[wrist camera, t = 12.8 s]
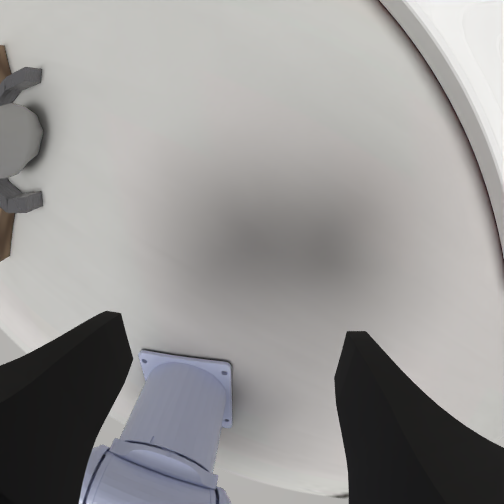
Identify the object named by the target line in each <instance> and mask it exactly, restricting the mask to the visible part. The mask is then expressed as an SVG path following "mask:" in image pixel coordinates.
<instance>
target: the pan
mask: <svg viewBox="0 0 504 504" xmlns="http://www.w3.org/2000/svg"><path fill="white" fill-rule="evenodd" d="M379 1H380V2H381V3H382V4H383V5H384V6H385V7H386V9H387V10H388V11H389V12H390V13H391V14H392V16H393V17H394V18H395V19H396V20H397V22H398V23H399V24H400V25H401V27H402V28H403V29H404V31H405V32H406V33H407V35H408V36H409V37H410V39H411V40H412V41H413V43H414V44H415V45H416V47H417V48H418V50H419V51H420V53H421V54H422V56H423V57H424V59H425V60H426V62H427V63H428V65H429V66H430V68H431V69H432V71H433V73H434V74H435V76H436V77H437V79H438V81H439V82H440V84H441V86H442V88H443V89H444V91H445V93H446V95H447V96H448V98H449V100H450V102H451V104H452V106H453V108H454V110H455V112H456V114H457V116H458V118H459V120H460V122H461V124H462V126H463V128H464V130H465V132H466V135H467V137H468V139H469V141H470V144H471V146H472V149H473V151H474V154H475V156H476V159H477V161H478V164H479V167H480V170H481V172H482V175H483V178H484V181H485V184H486V187H487V191H488V194H489V197H490V201H491V204H492V208H493V211H494V215H495V219H496V223H497V227H498V232H499V236H500V241H501V246H502V251H503V257H504V0H379Z"/></svg>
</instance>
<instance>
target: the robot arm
mask: <svg viewBox="0 0 504 504" xmlns="http://www.w3.org/2000/svg"><path fill="white" fill-rule="evenodd" d="M138 356H139V360H140V363H141V367H142V370H143V374H144V377H145V381H146V383H145V385H144V387H143V389H142V391H141V394H140V396H139V398H138V400H137V402H136V404H135V406H134V408H133V410H132V413H131V415H130V417H129V419H128V421H127V423H126V425H125V428H124V430H123V432H122V434H121V436H120V439H117V438H115V439H114V441H113V443H112V445H111V447H110V448H109V447H107V446H105V445H100V446H98V447H94V448H93V445H94V442H95V440H96V437H97V435H98V433H99V431H100V429H101V427H102V425H103V423H104V421H105V419H106V417H107V415H108V413H109V412H110V410H111V408H112V406H113V404H114V402H115V400H116V398H117V396H118V394H119V393H120V391H121V389H122V387H123V385H124V383H125V380H126V378H127V375H128V372H129V369H130V367H131V364H132V361H133V356H132V353H131V350H130V346H129V343H128V339H127V335H126V331H125V328H124V324H123V320H122V315H121V313H116V312H110V311H105V312H103V313H100V314H98V315H96V316H95V317H93V318H91V319H89V320H87V321H86V322H84V323H82V324H80V325H79V326H77V327H75V328H74V329H72V330H70V331H68V332H67V333H65V334H63V335H62V336H60V337H58V338H56V339H55V340H53V341H51V342H49V343H47V344H45V345H44V346H42V347H40V348H38V349H36V350H34V351H32V352H31V353H29V354H26V355H25V356H22V357H20V358H18V359H15V360H13V361H11V362H8V363H6V364H3V365H1V366H0V504H231V501H230V499H229V497H228V496H227V494H226V491H225V490H224V489H223V488H221V487H217V486H216V485H217V480H218V475H216V474H213V469H214V464H215V459H216V454H217V449H218V444H219V438H220V433H221V428H222V427H223V428H231V427H232V384H231V365H230V364H229V363H228V362H224V361H214V360H206V359H197V358H190V357H183V356H176V355H169V354H163V353H157V352H151V351H145V350H141V351H140V352H139V354H138ZM146 360H147V361H146ZM224 371H226V372H224ZM334 380H335V395H336V406H337V411H338V416H339V422H340V427H341V432H342V437H343V443H344V448H345V454H346V460H347V467H348V481H349V504H504V448H503V447H501V446H499V445H497V444H495V443H493V442H491V441H489V440H487V439H486V438H484V437H482V436H480V435H479V434H477V433H476V432H474V431H473V430H471V429H470V428H468V427H466V426H465V425H463V424H462V423H461V422H459V421H458V420H456V419H455V418H454V417H452V416H451V415H450V414H449V413H447V412H446V411H445V410H444V409H442V408H441V407H440V406H439V405H437V404H436V403H435V402H434V401H433V400H432V399H431V398H429V397H428V396H427V395H426V394H425V393H424V392H423V391H422V390H421V389H420V388H419V387H418V386H417V385H416V384H415V383H414V382H413V381H412V380H411V379H410V378H409V377H408V376H407V375H406V374H405V373H404V372H403V371H402V370H401V369H400V368H399V367H398V366H397V365H396V364H395V363H394V362H393V361H392V359H391V358H390V357H389V356H388V355H387V354H386V353H385V352H384V351H383V350H382V348H381V347H380V346H379V345H378V344H377V343H376V342H375V341H374V340H373V339H372V337H371V336H370V335H369V334H368V333H367V332H366V331H347V333H346V337H345V341H344V345H343V349H342V353H341V356H340V360H339V363H338V367H337V370H336V374H335V377H334Z"/></svg>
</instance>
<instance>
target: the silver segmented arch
mask: <svg viewBox="0 0 504 504" xmlns="http://www.w3.org/2000/svg"><path fill="white" fill-rule="evenodd" d="M41 73H42V69H37V68H30V67H24V68H22V69H20V70H18V71H16V72H15V73H13V74H11V75H9V76H7V77H5V79H3V81H2V82H1V84H0V106H2V105H6V104H9V103H12V102H13V101H14V100H15V98H16V97H17V96H18V94H19V93H20V92H21V91H22V90H24V89H27V88H29V87H31V86H34V85H36V84H39V83H41ZM41 206H43V203H42V194H41V191H40V192H29V193H22V192H21V191H20V190H18V189H17V188H16V187H15V186H14V185H12V184H11V183H10V182H9V181H8V178H3V179H0V207H1V208H2V209H3V210H4V211H5V212H6V213H7V212H8V213H27V212H30V211H32V210H34V209H37V208H39V207H41Z"/></svg>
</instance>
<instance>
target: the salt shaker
mask: <svg viewBox="0 0 504 504" xmlns="http://www.w3.org/2000/svg"><path fill="white" fill-rule="evenodd" d="M42 136H43V130H42V127H41V125H40V122H39V119H38V117H37V115H36V114H35V113H33V112H32V111H31V110H29V109H28V108H26V107H25V106H22V105H18V104H14V103H9V104H6V105H2V106H0V179H3V178H8V177H11V176H14V175H16V174H18V173H19V172H20V171H21V170H22V169H23V168H24V167H25V165H26V164H27V163H28V162H29V161H30V160H31V159H33V158H34V157H35V156H36V155H38V153H39V149H40V144H41V140H42Z"/></svg>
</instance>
